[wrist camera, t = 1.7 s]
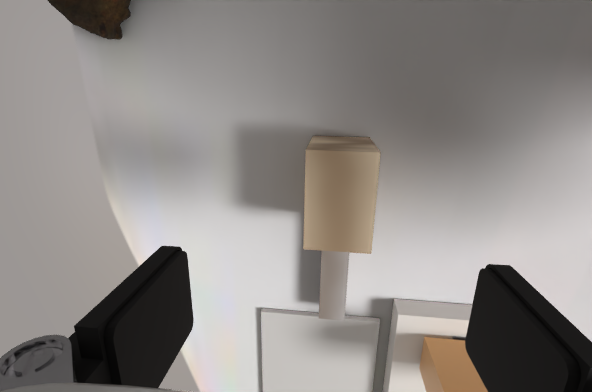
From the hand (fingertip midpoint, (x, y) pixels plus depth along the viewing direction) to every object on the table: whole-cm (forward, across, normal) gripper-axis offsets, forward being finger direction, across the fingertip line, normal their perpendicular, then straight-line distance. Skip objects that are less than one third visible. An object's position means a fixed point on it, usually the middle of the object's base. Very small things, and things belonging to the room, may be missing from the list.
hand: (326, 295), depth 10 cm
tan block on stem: (+15, -1, +4) cm, 15 cm away
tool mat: (+15, 0, +20) cm, 25 cm away
